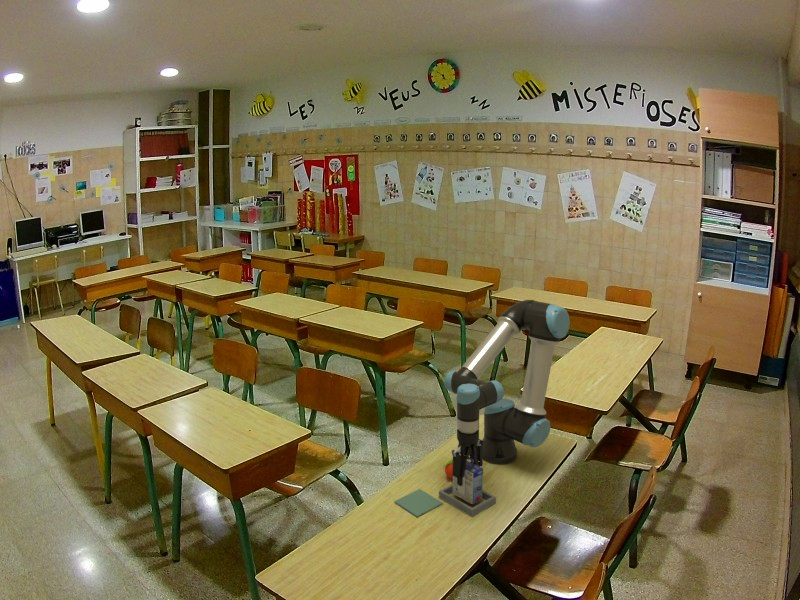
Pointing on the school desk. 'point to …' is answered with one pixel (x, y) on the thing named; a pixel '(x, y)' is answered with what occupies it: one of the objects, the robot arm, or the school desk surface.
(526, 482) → the school desk surface
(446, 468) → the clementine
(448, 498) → the grey rectangular frame
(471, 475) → the ink cartridge box
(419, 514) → the mat
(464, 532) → the school desk surface
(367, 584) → the school desk surface
